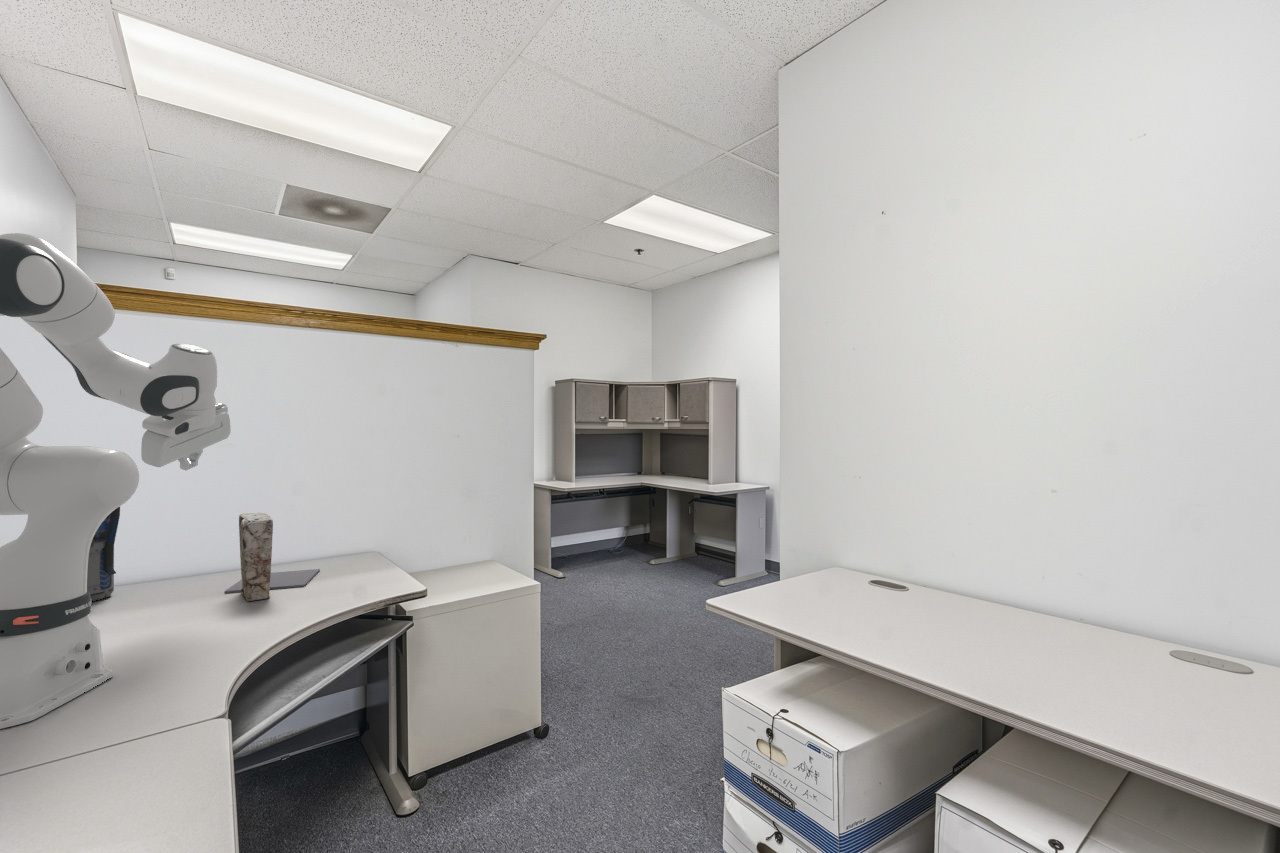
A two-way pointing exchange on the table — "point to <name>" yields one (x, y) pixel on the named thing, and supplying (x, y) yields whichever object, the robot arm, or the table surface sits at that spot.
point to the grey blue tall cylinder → (102, 558)
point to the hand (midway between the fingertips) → (188, 467)
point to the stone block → (255, 554)
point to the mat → (282, 580)
